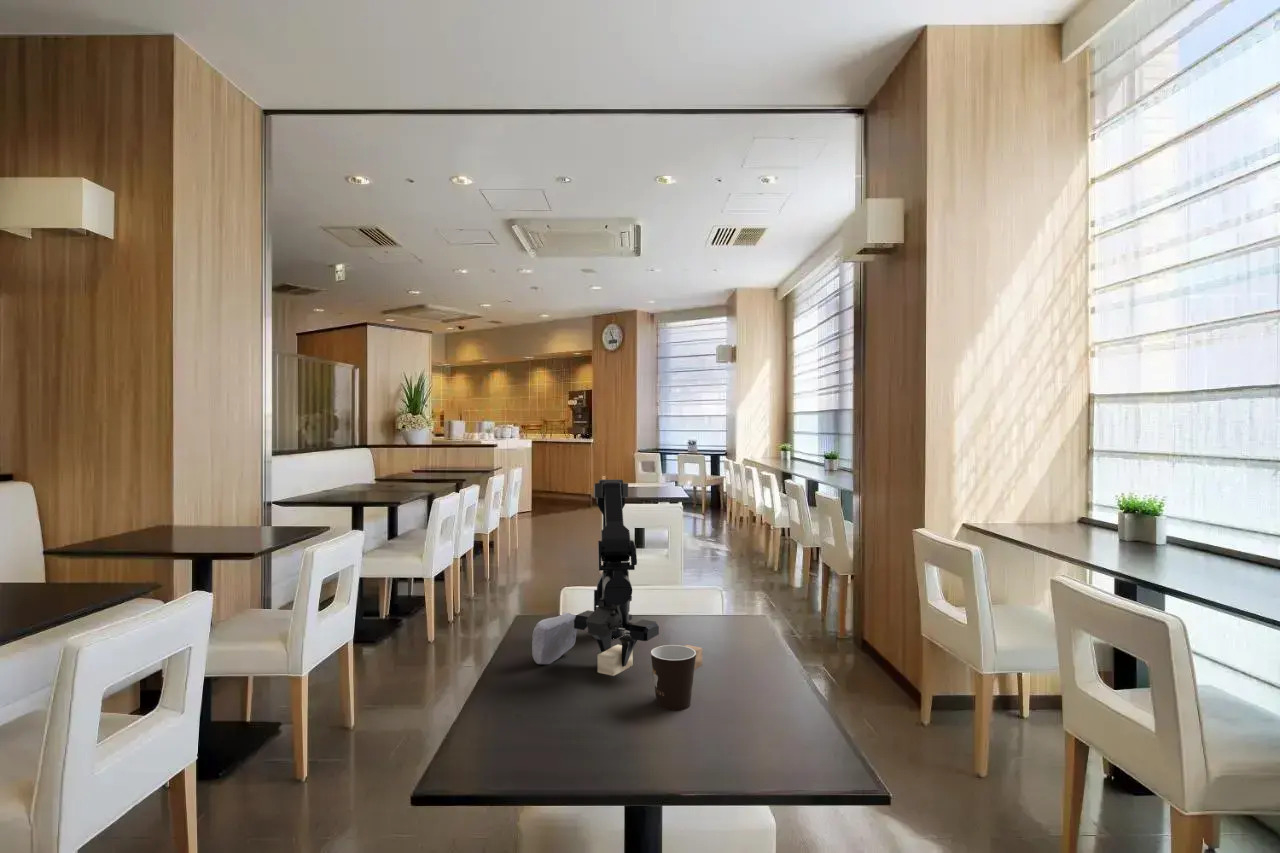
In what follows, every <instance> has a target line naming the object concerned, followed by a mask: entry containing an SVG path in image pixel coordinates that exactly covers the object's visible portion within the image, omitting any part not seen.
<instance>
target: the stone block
mask: <svg viewBox="0 0 1280 853" xmlns="http://www.w3.org/2000/svg"><path fill="white" fill-rule="evenodd" d="M576 615H577V614H574V613H573V614H572V613H570V612H563V613H562V614H560V615H558V616H554V617H548V618H544V619H541V620H540V621H538V622H537V623H536V625H535V627H534V629H533V632H532V641H531V647H532V654H531V655H532V659H533V661H534V662H535V664H537V665H550V664H552V663H554V662H555V661H557V660H558V659H560V658H561V657H562V656H563V655H564V654H565V653H567V652H568V651H569V650H570V649H572V648H573V647H574V646H575V643H576V638H577V633H578V630H579V629H575V628H574V619H575V617H576Z"/></svg>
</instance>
